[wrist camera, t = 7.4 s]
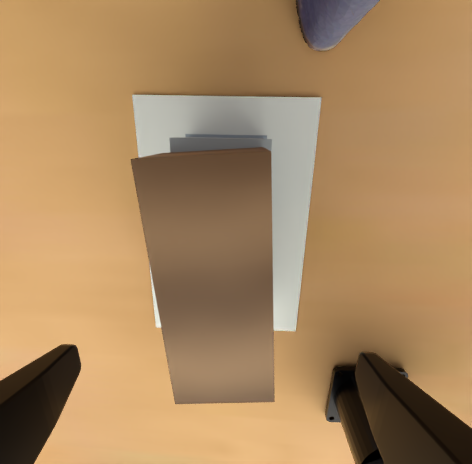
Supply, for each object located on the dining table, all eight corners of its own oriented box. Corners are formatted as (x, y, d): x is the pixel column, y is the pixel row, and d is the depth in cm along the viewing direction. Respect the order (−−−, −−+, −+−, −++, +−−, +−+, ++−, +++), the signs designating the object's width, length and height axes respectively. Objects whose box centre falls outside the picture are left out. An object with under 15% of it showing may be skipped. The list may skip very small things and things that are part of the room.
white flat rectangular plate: (295, 329, 23) (295, 331, 23) (156, 325, 23) (155, 327, 23) (320, 97, 17) (321, 97, 17) (133, 95, 17) (131, 94, 17)
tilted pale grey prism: (260, 211, 19) (266, 236, 15) (191, 210, 19) (175, 233, 15) (264, 138, 18) (272, 139, 13) (188, 137, 18) (169, 137, 13)
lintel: (267, 343, 17) (274, 401, 13) (189, 345, 17) (175, 404, 14) (262, 147, 13) (271, 151, 9) (162, 152, 13) (130, 159, 10)
